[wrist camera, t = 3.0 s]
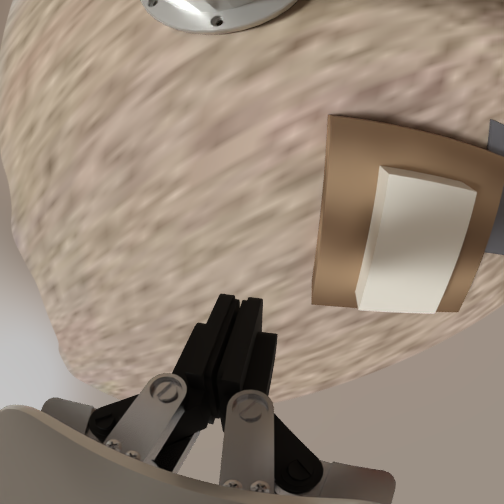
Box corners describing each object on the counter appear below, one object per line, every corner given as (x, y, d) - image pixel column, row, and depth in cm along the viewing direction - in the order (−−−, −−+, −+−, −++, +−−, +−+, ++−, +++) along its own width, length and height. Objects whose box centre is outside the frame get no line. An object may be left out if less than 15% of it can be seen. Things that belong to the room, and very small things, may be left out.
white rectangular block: (379, 165, 14) (388, 173, 13) (462, 181, 13) (477, 192, 12) (355, 291, 19) (358, 310, 17) (426, 296, 18) (434, 313, 16)
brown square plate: (327, 114, 16) (332, 116, 14) (486, 149, 14) (508, 159, 12) (311, 280, 23) (311, 304, 20) (446, 290, 21) (458, 312, 18)
